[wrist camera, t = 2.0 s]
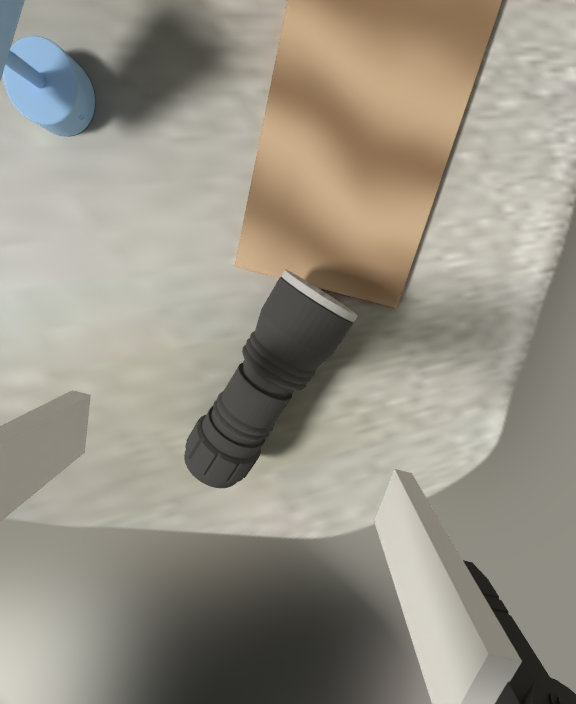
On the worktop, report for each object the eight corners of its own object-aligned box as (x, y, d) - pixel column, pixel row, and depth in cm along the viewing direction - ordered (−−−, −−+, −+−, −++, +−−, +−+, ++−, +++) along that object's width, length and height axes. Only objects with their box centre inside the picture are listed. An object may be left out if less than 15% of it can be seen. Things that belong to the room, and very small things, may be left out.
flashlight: (248, 461, 26) (234, 510, 21) (191, 431, 26) (163, 474, 20) (351, 308, 22) (365, 322, 17) (287, 268, 22) (282, 270, 16)
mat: (307, -94, 17) (307, -103, 17) (511, -34, 18) (516, -41, 17) (235, 266, 22) (234, 266, 22) (395, 307, 23) (396, 308, 22)
